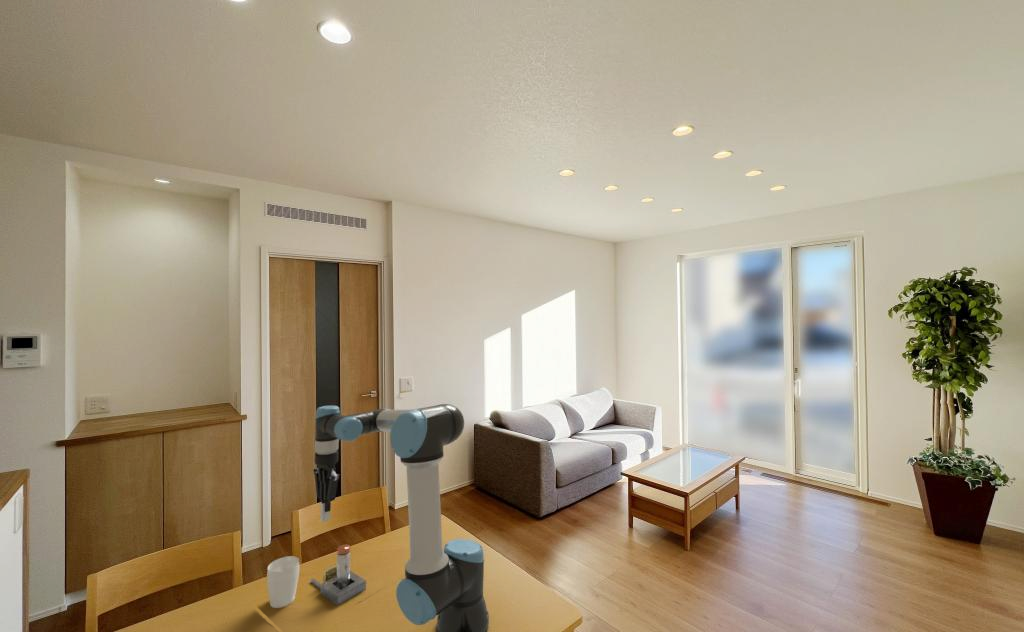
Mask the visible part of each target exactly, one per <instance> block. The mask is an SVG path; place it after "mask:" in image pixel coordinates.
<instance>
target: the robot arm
mask: <svg viewBox="0 0 1024 632" xmlns="http://www.w3.org/2000/svg"><path fill="white" fill-rule="evenodd" d="M314 420H315V428H314V429H315V431H314V432H315V433H314V434H315V440H314V452H315V453H314V464H315V465H316V466H317V467H316V468H314V469H313V474H314V480H315V481H314V482H315V491H316V498H317V499H319V501H320V522H321V523H324V522H327V521H329V520H331V508H332V507H331V506H332V505H331V503H332V501H335V500H336V496H337V490H338V483H339V479H340V476H341V475H340V474H339V473H336V466H335V465H336V464H337V463H338V461H339V445H340V444H339V442H340V440H341V441H344V442H346V441H347V442H353V441H355V440H357V439H358V438H359V437H360V436H363V435H367V434H373V433H376V432H378V433H379V432H380V433H385V432H386V433H390V434H389V436H390V437H389V440H390V445H391V446H390V447H391V448H392V449H393V450H392V451H393V452H394V454H395V456H397V457H398V458H399V459H400V463H401V464H403V465H404V466H405V467H406V479H407V480H406V483H407V484H406V485H407V509H408V530H409V531H408V533H409V553H410V557H409V559H408V560H406V563H405V564H404V573H405V574H404V575H405V576H404V578H402V579H401V580H400V581H399V582H398V584H397V586H396V590H395V591H396V599H397V604H398V607H399V609H400V611H401V612H402V614H403V615H404V617H405V618H406V619H407V620H408V621H409V622H410V623H411V624H414V625H415V626H423V625H425V624H427V623H428V622H430V621H432V620H435V619H436V629H437V632H485V631H486V630H487V631H488V629H489V626H488V625H490V615H489V610H488V608H487V604H486V600H485V597H484V577H485V576H484V575H485V574H484V570H485V569H484V565H485V557H484V555H485V554H484V548H483V546H482V544H480V543H478V542H477V541H475V540H473V539H467V538H456V539H452V540H450V541H447V542H446V543H445V544H444V548H443V531H442V528H443V527H442V526H443V525H442V511H441V509H442V507H441V492H440V491H441V489H440V471H439V470H440V469H439V467H440V466H439V463H440V462H441V461H442V459H443V458H444V446H447V445H450V444H452V443H454V442H455V441H456V440H458V439H459V438H460V437H461V435H462V434H463V431H464V429H465V419H464V415H463V413H462V412H461V410H460V409H459V408H458V407H456V406H455V405H453V404H449V403H442V404H437V405H432V406H425V407H421V408H415V409H414V408H413V409H390V408H378V409H375V410H370V411H364V412H359V413H353V414H348V415H344V414H341V411H340V407H339V406H338V405H323V406H319V407H317V409H316V411H315V418H314ZM436 617H437V618H436ZM487 628H488V629H487ZM487 631H486V632H487Z"/></svg>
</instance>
